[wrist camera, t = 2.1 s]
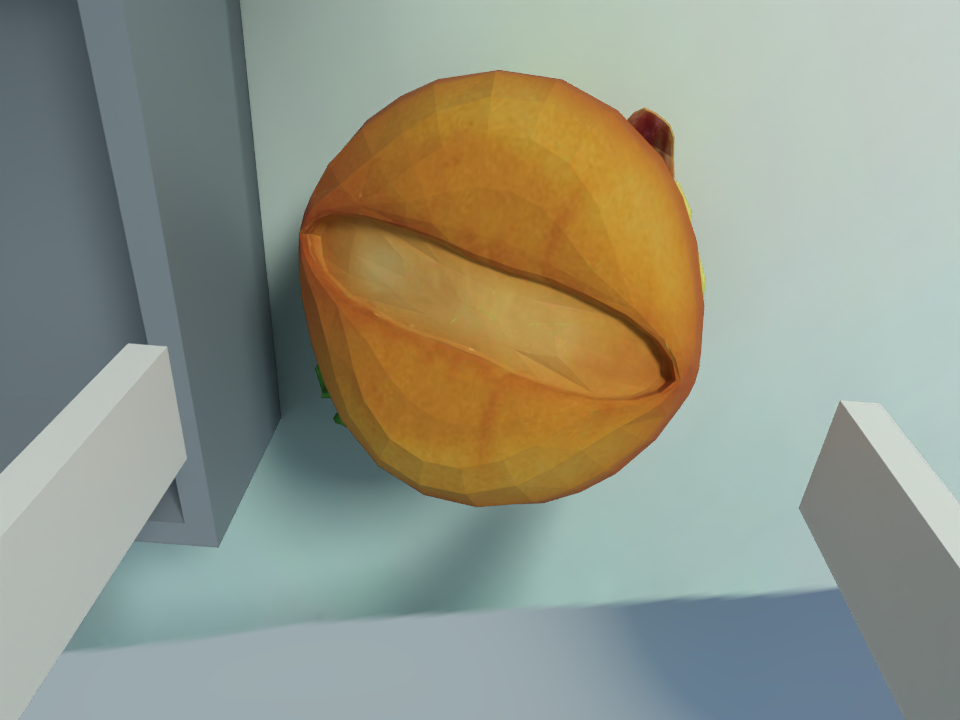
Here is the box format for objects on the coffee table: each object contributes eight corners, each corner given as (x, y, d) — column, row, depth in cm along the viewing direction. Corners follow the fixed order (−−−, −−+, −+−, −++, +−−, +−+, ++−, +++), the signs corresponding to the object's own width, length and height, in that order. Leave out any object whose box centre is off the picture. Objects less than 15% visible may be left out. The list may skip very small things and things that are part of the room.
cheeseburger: (414, 450, 25) (316, 644, 15) (317, 141, 22) (125, 149, 13) (710, 392, 23) (804, 575, 14) (645, 44, 20) (707, -32, 11)
